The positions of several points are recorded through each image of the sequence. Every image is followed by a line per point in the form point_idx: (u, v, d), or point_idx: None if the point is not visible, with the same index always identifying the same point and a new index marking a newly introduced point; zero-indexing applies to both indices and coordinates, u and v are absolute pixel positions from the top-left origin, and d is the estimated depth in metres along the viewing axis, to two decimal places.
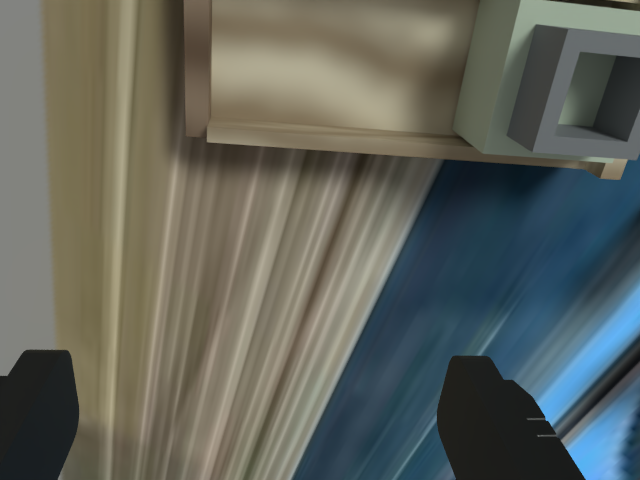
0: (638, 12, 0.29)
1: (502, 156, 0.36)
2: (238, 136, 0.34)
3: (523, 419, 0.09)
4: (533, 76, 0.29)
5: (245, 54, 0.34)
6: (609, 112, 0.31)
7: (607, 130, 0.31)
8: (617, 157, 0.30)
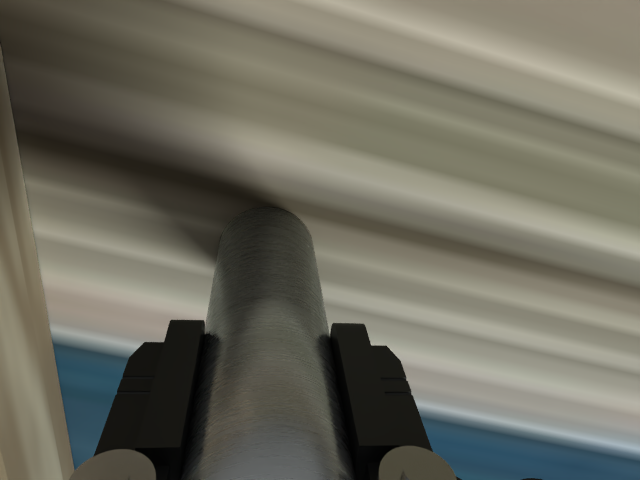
0: None
1: None
2: None
3: (376, 377, 0.10)
4: None
5: None
6: None
7: None
8: None
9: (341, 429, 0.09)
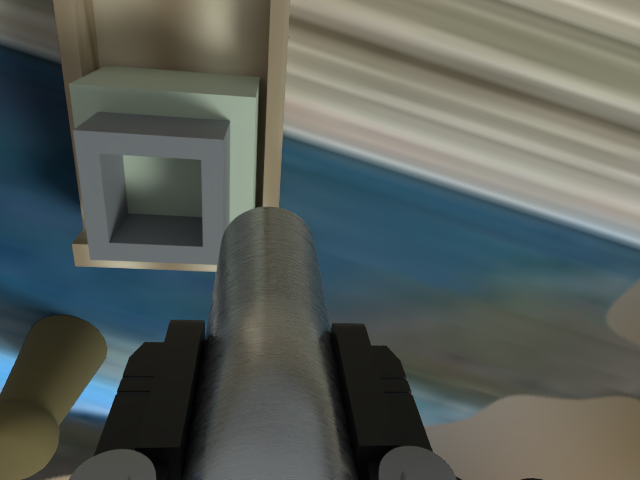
0: None
1: None
2: None
3: (376, 377, 0.10)
4: (171, 123, 0.25)
5: None
6: (144, 223, 0.27)
7: (123, 225, 0.27)
8: (88, 237, 0.25)
9: (343, 428, 0.09)
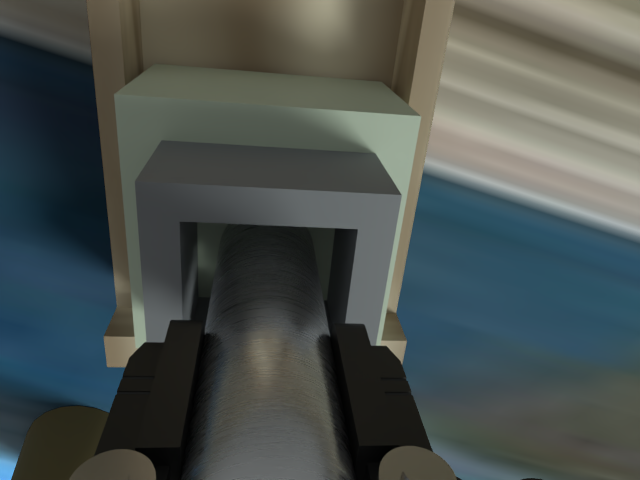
0: (384, 312, 0.19)
1: (116, 159, 0.19)
2: None
3: (376, 377, 0.10)
4: (291, 161, 0.14)
5: None
6: None
7: None
8: None
9: (341, 430, 0.09)
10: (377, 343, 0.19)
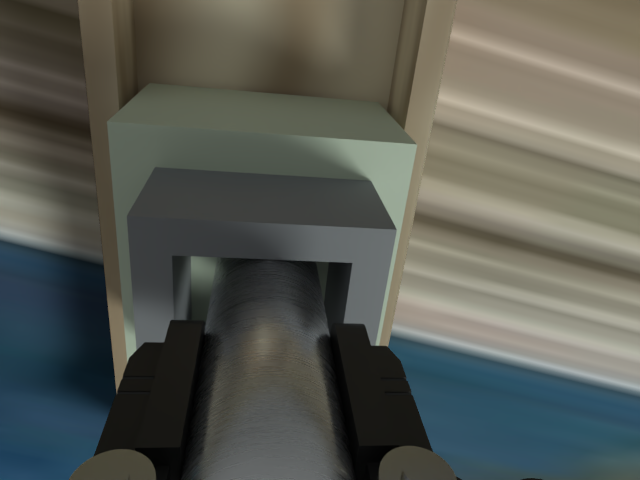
0: (379, 336, 0.19)
1: None
2: None
3: (376, 377, 0.10)
4: (286, 191, 0.14)
5: None
6: None
7: None
8: None
9: (341, 429, 0.09)
10: None
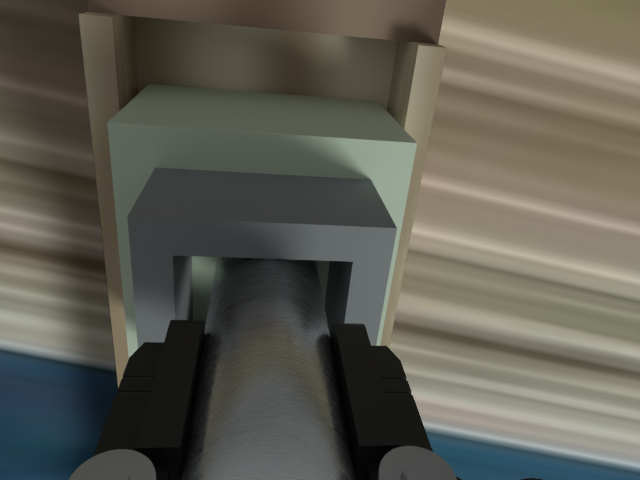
0: (380, 334, 0.19)
1: None
2: (102, 82, 0.17)
3: (376, 377, 0.10)
4: (286, 190, 0.14)
5: (249, 82, 0.20)
6: None
7: None
8: None
9: (341, 428, 0.09)
10: None
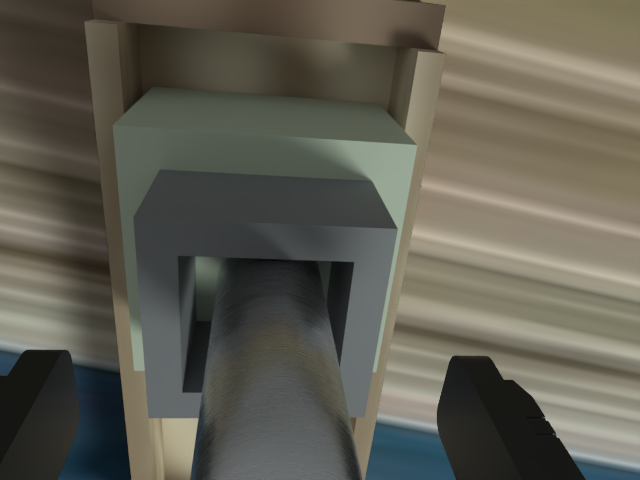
0: (381, 334, 0.19)
1: (141, 469, 0.25)
2: (107, 88, 0.17)
3: (523, 419, 0.09)
4: (288, 192, 0.15)
5: (252, 87, 0.21)
6: None
7: (195, 348, 0.17)
8: (148, 385, 0.15)
9: (345, 419, 0.09)
10: (374, 365, 0.20)
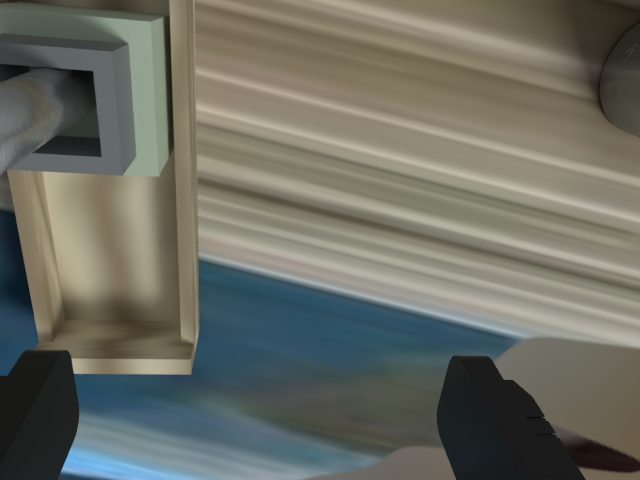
0: (155, 148, 0.31)
1: (33, 271, 0.38)
2: None
3: (523, 419, 0.09)
4: (69, 42, 0.27)
5: (86, 4, 0.33)
6: (52, 141, 0.29)
7: None
8: None
9: (39, 102, 0.22)
10: (156, 171, 0.32)
